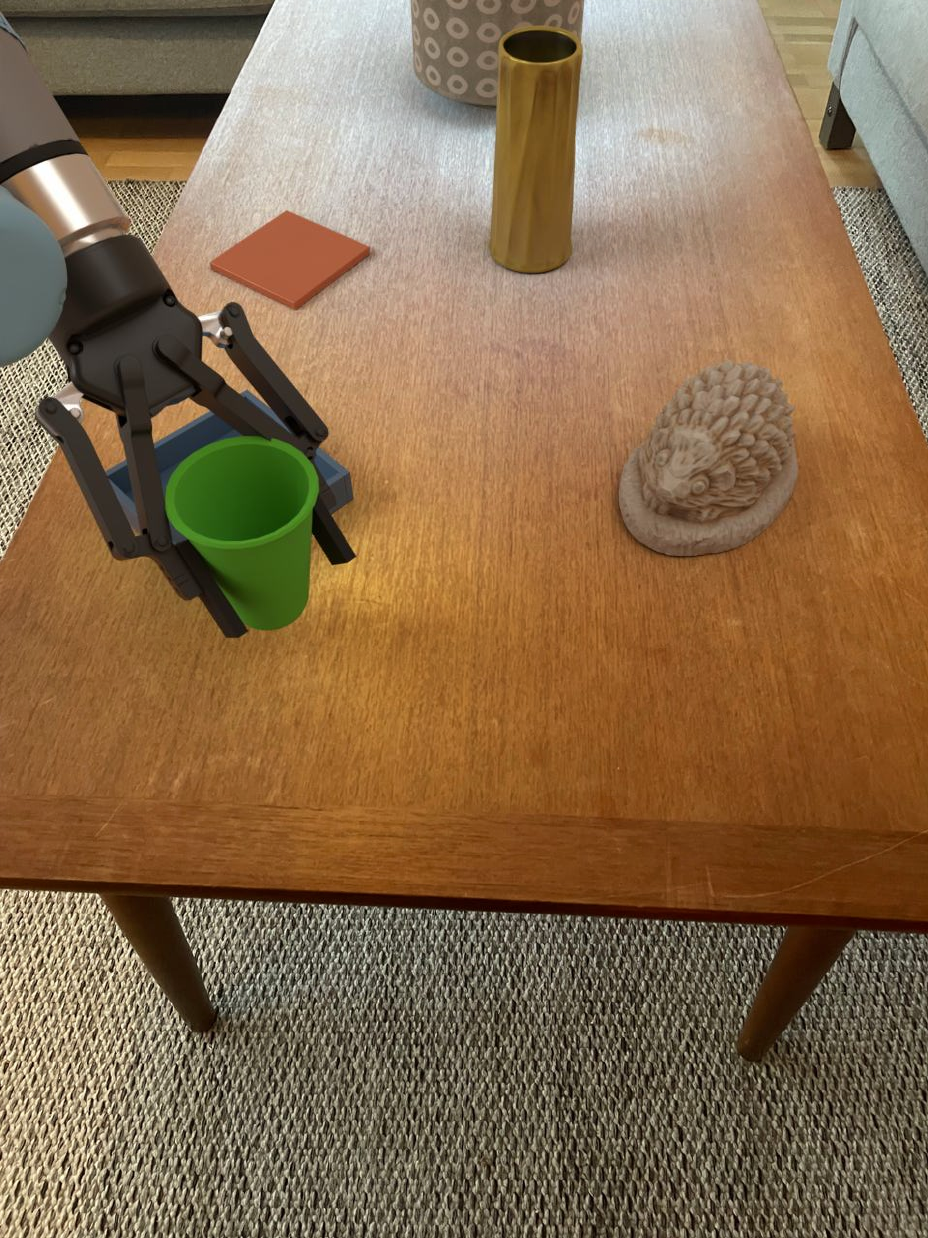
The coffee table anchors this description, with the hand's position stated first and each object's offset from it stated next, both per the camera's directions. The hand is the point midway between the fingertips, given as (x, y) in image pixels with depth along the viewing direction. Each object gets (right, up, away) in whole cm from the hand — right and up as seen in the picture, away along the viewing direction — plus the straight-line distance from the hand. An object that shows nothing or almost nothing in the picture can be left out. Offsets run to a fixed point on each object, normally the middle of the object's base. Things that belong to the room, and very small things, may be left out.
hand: (291, 596), depth 62 cm
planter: (+15, +60, +54) cm, 82 cm away
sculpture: (+30, +9, +16) cm, 35 cm away
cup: (-2, 0, +5) cm, 5 cm away
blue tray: (-7, +8, +15) cm, 19 cm away
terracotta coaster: (-6, +33, +34) cm, 48 cm away
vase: (+17, +35, +35) cm, 52 cm away
